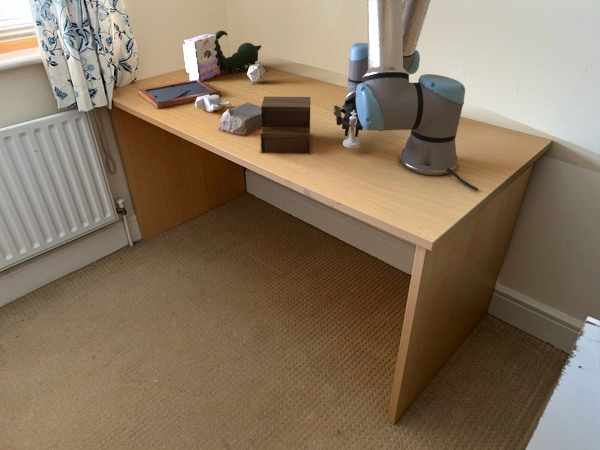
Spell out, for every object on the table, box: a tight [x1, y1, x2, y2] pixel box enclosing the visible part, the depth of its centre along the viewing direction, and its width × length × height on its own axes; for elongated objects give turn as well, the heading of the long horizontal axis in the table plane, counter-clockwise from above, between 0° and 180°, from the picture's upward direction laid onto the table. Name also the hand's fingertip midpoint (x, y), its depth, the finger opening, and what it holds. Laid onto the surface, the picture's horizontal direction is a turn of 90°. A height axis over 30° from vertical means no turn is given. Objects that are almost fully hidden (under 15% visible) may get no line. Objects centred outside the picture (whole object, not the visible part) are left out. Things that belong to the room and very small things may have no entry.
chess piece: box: [342, 110, 361, 149], centre depth 122 cm, size 5×5×10 cm
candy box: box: [183, 33, 221, 82], centre depth 183 cm, size 14×6×16 cm, turn 149°
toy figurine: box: [214, 30, 262, 74], centre depth 192 cm, size 9×19×25 cm
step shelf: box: [259, 96, 311, 155], centre depth 128 cm, size 14×14×12 cm
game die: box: [244, 61, 269, 85], centre depth 180 cm, size 9×8×10 cm
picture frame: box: [138, 79, 221, 109], centre depth 168 cm, size 20×2×25 cm
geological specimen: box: [218, 102, 262, 136], centre depth 141 cm, size 11×6×15 cm
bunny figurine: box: [194, 95, 232, 113], centre depth 153 cm, size 10×5×15 cm
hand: (351, 131), depth 117 cm, fingers closed on chess piece, 2 cm apart
